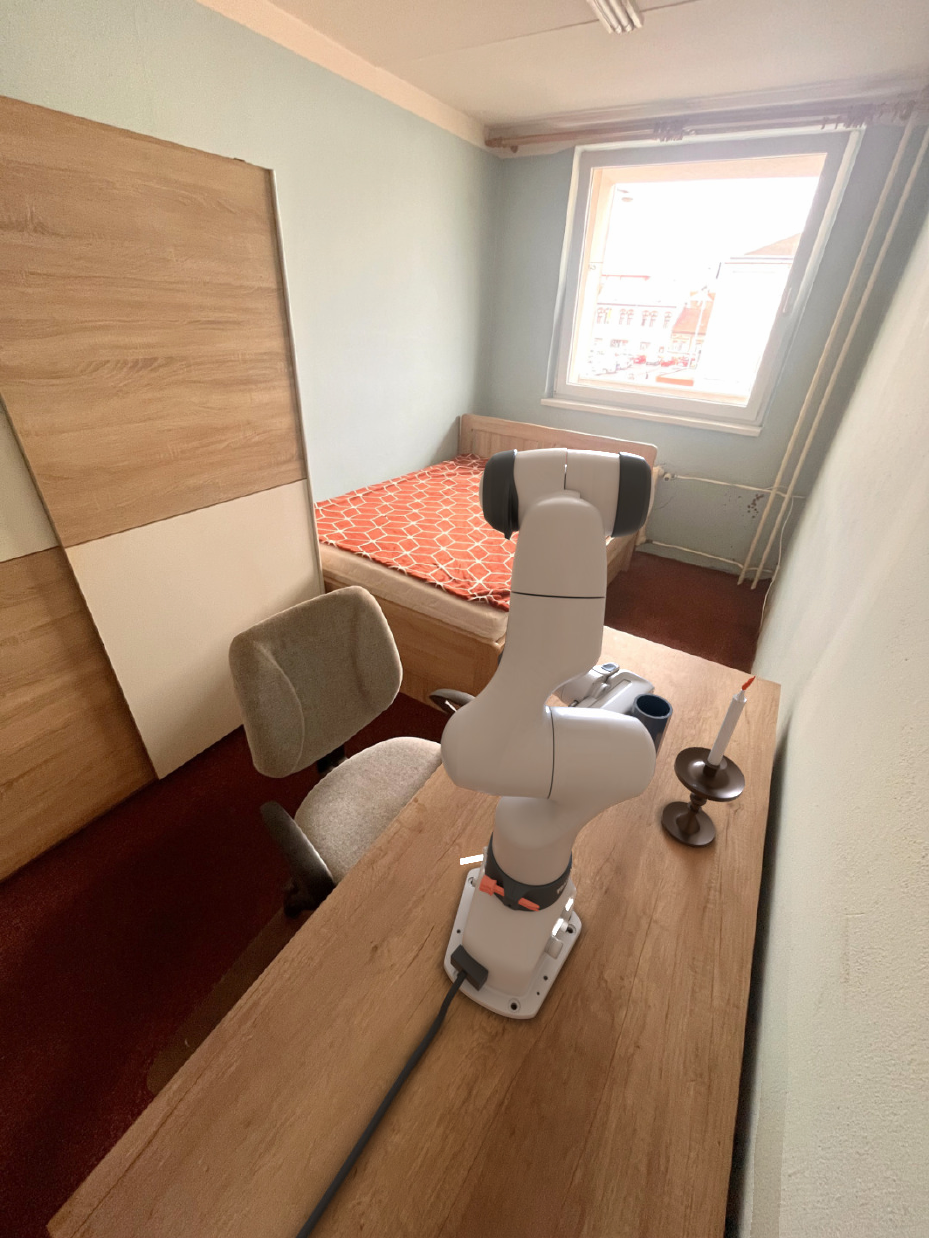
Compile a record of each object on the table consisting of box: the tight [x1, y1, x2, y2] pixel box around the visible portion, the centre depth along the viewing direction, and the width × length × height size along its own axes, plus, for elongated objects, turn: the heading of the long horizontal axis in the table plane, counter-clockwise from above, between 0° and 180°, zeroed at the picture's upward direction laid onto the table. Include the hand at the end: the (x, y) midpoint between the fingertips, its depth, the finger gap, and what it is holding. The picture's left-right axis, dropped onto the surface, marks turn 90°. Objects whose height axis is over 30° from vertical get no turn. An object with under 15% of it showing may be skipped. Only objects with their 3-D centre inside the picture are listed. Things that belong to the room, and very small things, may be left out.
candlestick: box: [660, 675, 756, 849], centre depth 83 cm, size 11×11×35 cm
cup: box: [630, 693, 674, 760], centre depth 92 cm, size 7×7×11 cm
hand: (651, 728), depth 91 cm, fingers closed on cup, 6 cm apart
